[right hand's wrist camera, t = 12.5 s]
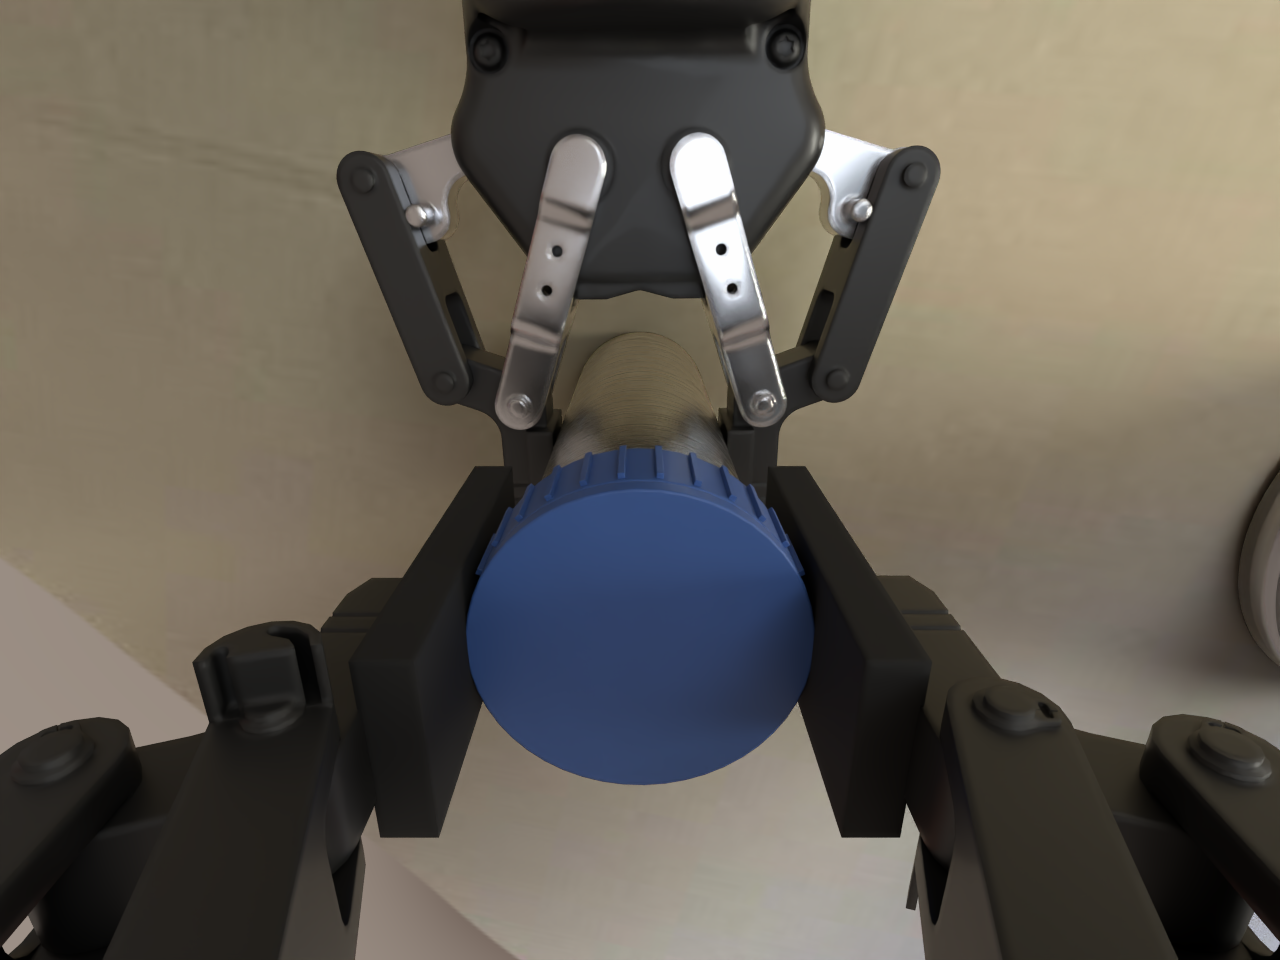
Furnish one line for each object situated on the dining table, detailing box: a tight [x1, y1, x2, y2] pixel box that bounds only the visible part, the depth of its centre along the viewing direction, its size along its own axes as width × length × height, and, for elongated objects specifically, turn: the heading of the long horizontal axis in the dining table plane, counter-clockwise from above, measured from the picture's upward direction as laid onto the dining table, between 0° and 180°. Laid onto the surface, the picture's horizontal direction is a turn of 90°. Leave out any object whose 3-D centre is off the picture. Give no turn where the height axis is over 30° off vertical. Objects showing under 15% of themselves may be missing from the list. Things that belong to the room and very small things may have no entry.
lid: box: [466, 445, 815, 785], centre depth 11 cm, size 5×5×2 cm
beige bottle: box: [542, 332, 739, 480], centre depth 18 cm, size 4×4×15 cm
